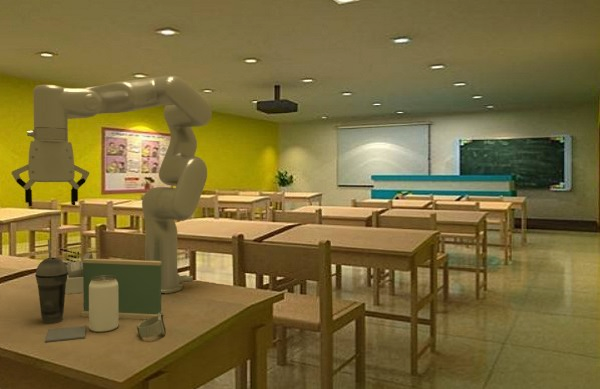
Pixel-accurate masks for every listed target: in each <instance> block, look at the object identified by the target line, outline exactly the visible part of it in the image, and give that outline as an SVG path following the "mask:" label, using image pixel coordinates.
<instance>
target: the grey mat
mask: <svg viewBox="0 0 600 389" xmlns="http://www.w3.org/2000/svg"><path fill="white" fill-rule="evenodd" d="M86 328H87V325H78V326H77V325H76V326H67V327H56V328H47V332H46V336H45V339H44V343H52V342H53V343H54V342H63V341H72V340H79V339H80V340H81V339H82V340H83V339H86Z"/></svg>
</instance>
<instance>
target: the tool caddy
mask: <svg viewBox="0 0 600 389" xmlns="http://www.w3.org/2000/svg"><path fill="white" fill-rule="evenodd" d="M64 262H65V263H67V264H69V263H73V262H72V261H67V260H65V261H64ZM65 265H66V264H65ZM66 266H67V265H66ZM70 293H72V294H81V293H83V294H84V291H83V277H77V278H69V277H67V281H66V288H65V295H68V294H69V295H71V294H70Z"/></svg>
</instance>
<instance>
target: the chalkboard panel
mask: <svg viewBox="0 0 600 389" xmlns="http://www.w3.org/2000/svg"><path fill="white" fill-rule="evenodd" d="M82 259H83V258H82ZM161 264H162V261H145V260H143V259H141V260H137V259H134V260H133V259H109V258H108V259H107V258H106V259H105V258H93V259H83V291H84V293H83V311H81V312H80V317H85V318H89V284H90V282H91V278H93V277H96V276H104V275H111V276H116V280H117V282H118V319H124V320H125V319H128V320H129V319H130V320H146V319H149V318H152V317H155V316H158V313H160V314H163V315H164V311H162V294H161Z"/></svg>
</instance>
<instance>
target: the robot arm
mask: <svg viewBox="0 0 600 389" xmlns="http://www.w3.org/2000/svg"><path fill="white" fill-rule="evenodd" d="M32 92H33V93H32V94H33V96H32V98H33V100H32V101H33V102H32V103H33V106H32V107H33V129H32V130H27V131H26V133H27V137H31V138H33V140H31V141H30V143H29V148H28V162H27V163H28V164H26V165H24V166H22V167H19V168H17V169H15V170H12V171H11V175H12V177H13V178H14V181H15V182H16V183H17V184H18V185H19V186H20V187H21V188H23V189H24V192H25V194H24V195H25V197H24V199H25V201H24V202H25V204H26V203H27V204H28V207H32V206H33V191H32V186H33V185H34V184H35V183H68V184H69V185H70V186H71V189H70V192H71V193H70V204H71V206H76V202H77V203H78V202H79V188H81V187H82V186H83V185H84V184H85V183H86V182H87V179H88V178H89V175H90V171H88V170H85V169H84V168H82V167H80V166H77V165H75V158H74V150H73V149H74V148H73V145H72V141H71V142H69V133H68V132H69V129H68V126H69V125H68V124H69V122H68V120H72V119H73V120H76V119H88V118H92V117H95V116H97V115H99V114H120V113H122V114H123V113H129V112H135V111H139V110H145V109H150V108H151V109H152V108H156V107H163V106H165V107H164V110H163V117H164V121H165V123H166V125H167V128H168V130H169V132H170V133H169V134H170V141H169V145H168V147H167V150H166V152H165V155H164V157H163V159H162V161H161V162H162V163H161V164H160V168H159V170H158V177H159V180H160V181H161V182H162V183H163V185H167V186H170V187H164V186H157V187H152V188H150V189H148V190H147V191H146V192H145V193H144V194H143V197H142V200H141V207H142V213H143V219H144V227H145V228H144V229H145V230H144V232H145V238H144V239H145V247H144V248H145V251H144V252H145V258H144V259H145V260H144V261H162V264H161V293H165V294H170V293H171V294H172V293H176V292H179V291H180V290H182V289H183V283H193V282H194V281H193V280H194V279H193V275H184V274H183V275H180V274H179V273H178V229H177V228H178V227H177V224H176V222H175V221H185V220H188V219H190V218H191V217H192V216H193V215H194V213H195V212H196V210H197V207H198V204H199V202H200V199H201V196H202V194H203V190H204V188H205V186H206V181H207V179H208V168H207V164H206V162H205V161H204V159H202V158H200V157H198V156H195V154H196V152H197V148H198V147H197V146H198V140H197V138H196V135H195V133H194V130H193V127H194V128H195V127H196V128H197V127H203V126H206V125H207V124H208V123H209V122H210V121H211V120H212V114H213V111H212V108H211V105H210V104H209V102H208V101H207V100H206V99H205V98H204V97H203V96H202V95H201V94H200V93H199V92H198V91H197V90H195V89H194V88H193V86H192V85H190V84H189V83H187V81H185V80H184V79H182V78H181V77H179V76H176V75H163V76H157V77H156V76H155V77H148V78H140V79H131V80H123V81H122V80H121V81H115V82H111V83H106V84H101V85H96V86H90V87H89V86H87V87H82V88H81V87H79V88H77V87H63V86H60V85H54V84H38V85H36V86H35V87H34V88H33V91H32ZM27 171H28V172H27ZM24 172H27V173H28V179H29V180H28V181H24V179H23V178H21V176H20V174H22V173H24ZM75 172H76V173H79V174H81V177H80V179H79V180H78V181H77V182H76V181H75V176H76V175H75Z"/></svg>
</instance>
